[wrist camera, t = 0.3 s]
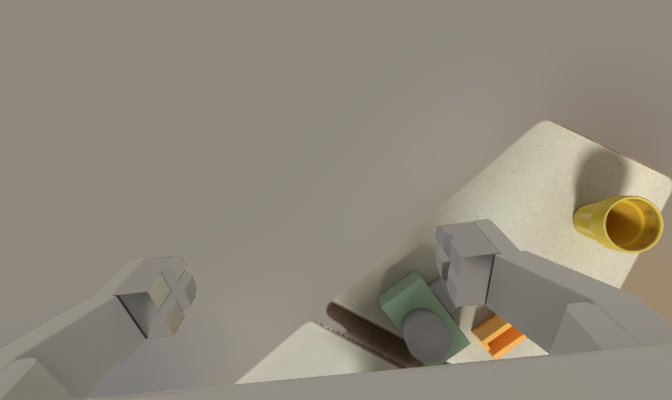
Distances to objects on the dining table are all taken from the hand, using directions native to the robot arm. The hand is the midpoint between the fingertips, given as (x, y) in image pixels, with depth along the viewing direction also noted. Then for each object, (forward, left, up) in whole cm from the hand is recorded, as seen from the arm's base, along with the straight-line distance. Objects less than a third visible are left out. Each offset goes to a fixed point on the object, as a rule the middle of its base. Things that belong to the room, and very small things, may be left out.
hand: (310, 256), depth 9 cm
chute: (-41, -12, -54) cm, 68 cm away
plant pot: (-34, -40, -54) cm, 75 cm away
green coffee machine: (-29, -7, -54) cm, 61 cm away
